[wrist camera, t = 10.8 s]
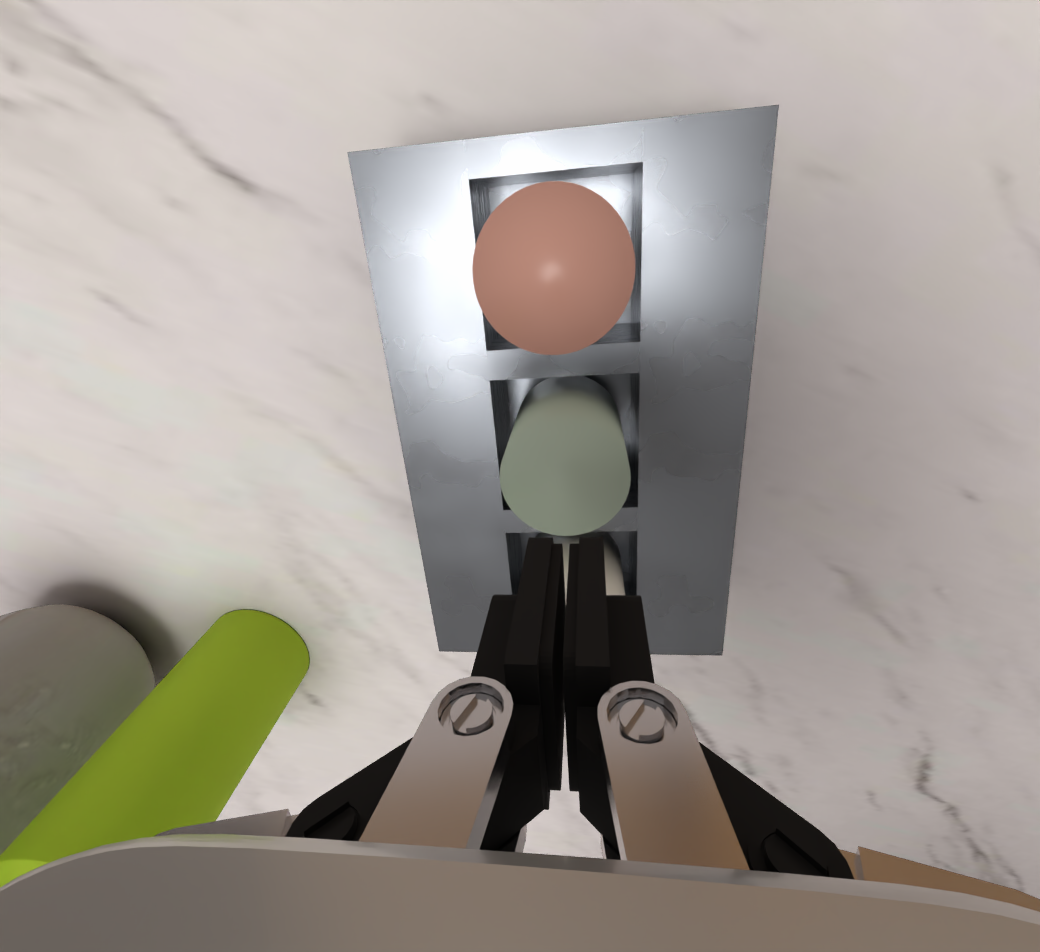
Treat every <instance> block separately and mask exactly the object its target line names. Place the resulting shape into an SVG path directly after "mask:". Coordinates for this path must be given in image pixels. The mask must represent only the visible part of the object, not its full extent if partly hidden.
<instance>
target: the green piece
mask: <svg viewBox="0 0 1040 952" xmlns="http://www.w3.org/2000/svg"><path fill="white" fill-rule="evenodd" d="M630 481H631V474H630V466H629V461H628V456H627V451H626V446H625V441H624V436H623V431H622V426H621V421H620V416H619V412H618V408H617V405H616V403H615V401H614V399H613V398H612V396H611V395H610V394H609V392H608V391H607V390H606V389H605V388H604V387H602V386H601V385H600V384H599V383H597V382H595V381H593V380H591V379H589V378H587V377H583V376H567V377H551V378H548V379H546V380H544V381H542V382H540V383H539V384H537V385H536V386H535V387H534V388H533V389H531V390H530V391H529V393H528V394H527V395H526V396H525V398H524V400H523V402H522V404H521V406H520V408H519V411H518V414H517V417H516V420H515V423H514V426H513V429H512V432H511V435H510V438H509V441H508V444H507V447H506V450H505V453H504V456H503V459H502V462H501V466H500V485H501V490H502V493H503V496H504V498H505V500H506V502H507V504H508V506H509V507H510V509H511V510H512V511H513V512H514V514H515V515H516V516H517V517H518V518H520V519H521V520H522V521H523V522H524V523H526V524H527V525H529V526H531V527H532V528H534V529H536V530H539V531H541V532H544V533H548V534H552V535H558V536H573V535H580V534H584V533H588V532H591V531H593V530H595V529H598V528H600V527H601V526H603V525H605V524H606V523H607V522H609V521H610V520H611V519H612V518H613V517H614V516H615V515H616V514H617V513H618V512H619V510H620V509H621V508H622V506H623V504H624V503H625V501H626V498H627V496H628V493H629V489H630Z"/></svg>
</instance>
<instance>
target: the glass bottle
mask: <svg viewBox="0 0 1040 952" xmlns="http://www.w3.org/2000/svg"><path fill="white" fill-rule="evenodd" d="M154 688H155V681H154V674H153V671H152V667H151V665H150V662H149V660H148V658H147V656H146V654H145V652H144V650H143V648H142V647H141V645H140V644H139V643H138V641H137V640H136V639H135V638H134V637H133V636H132V635H131V634H130V633H129V632H128V631H126V630H125V629H124V628H123V627H121V626H120V625H119V624H117V623H116V622H115V621H113V620H111V619H109V618H108V617H105V616H103V615H101V614H99V613H97V612H95V611H92V610H89V609H86V608H82V607H77V606H72V605H60V604H52V605H46V606H40V607H34V608H28V609H23V610H19V611H15V612H12V613H8V614H5V615H2V616H0V855H1V854H2V853H3V852H4V851H5V850H6V849H7V848H8V846H9V845H10V844H11V843H12V842H13V841H14V840H15V839H16V838H17V837H18V836H19V835H20V833H21V832H22V831H23V830H24V829H25V828H26V827H27V826H28V825H29V824H30V823H31V822H32V820H33V819H34V818H35V817H36V816H37V815H38V814H39V813H40V812H41V811H42V810H43V809H44V807H45V806H46V805H47V804H48V803H49V802H50V801H51V800H52V799H53V798H54V797H55V796H56V794H57V793H58V792H59V791H60V790H61V789H62V788H63V787H64V786H65V785H66V784H67V783H68V781H69V780H70V779H71V778H72V777H73V776H74V775H75V774H76V773H77V772H78V771H79V769H80V768H81V767H82V766H83V765H84V764H85V763H86V762H87V761H88V760H89V759H90V758H91V756H92V755H93V754H94V753H95V752H96V751H97V750H98V749H99V748H100V747H101V746H102V745H103V743H104V742H105V741H106V740H107V739H108V738H109V737H110V736H111V735H112V734H113V733H114V732H115V730H116V729H117V728H118V727H119V726H120V725H121V724H122V723H123V722H124V721H125V720H126V719H127V717H128V716H129V715H130V714H131V713H132V712H133V711H134V710H135V709H136V708H137V707H138V706H139V704H140V703H141V702H142V701H143V700H144V699H145V698H146V697H147V696H148V695H149V694H150V693H151V691H152V690H153V689H154Z"/></svg>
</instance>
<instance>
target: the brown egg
mask: <svg viewBox="0 0 1040 952" xmlns="http://www.w3.org/2000/svg"><path fill="white" fill-rule="evenodd" d="M472 273H473V284H474V290H475V293H476V297H477V300H478V303H479V305H480V307H481V310H482V312H483V313H484V315H485V317H486V318H487V320H488V321H489V323H490V324H491V325H492V327H493V328H494V329H495V330H496V331H497V332H498V333H499V334H500V335H501V336H502V337H504V338H505V339H506V340H507V341H509V342H510V343H512V344H514V345H515V346H517V347H519V348H521V349H524V350H526V351H529V352H533V353H536V354H543V355H561V354H568V353H572V352H576V351H578V350H581V349H583V348H586V347H588V346H590V345H591V344H593V343H595V342H596V341H598V340H599V339H600V338H602V337H603V336H604V335H605V334H606V333H607V332H608V331H609V330H611V329H612V327H613V326H614V325H615V324H616V322H617V321H618V320H619V318H620V317H621V315H622V314H623V312H624V310H625V308H626V306H627V304H628V302H629V299H630V296H631V293H632V290H633V285H634V279H635V254H634V248H633V243H632V240H631V237H630V234H629V232H628V230H627V227H626V225H625V223H624V221H623V220H622V218H621V217H620V215H619V214H618V212H617V211H616V210H615V209H614V208H613V207H612V205H611V204H610V203H609V202H607V201H606V200H605V199H604V198H603V197H602V196H600V195H599V194H597V193H595V192H594V191H592V190H590V189H588V188H586V187H584V186H581V185H578V184H574V183H571V182H563V181H547V182H541V183H536V184H533V185H530V186H527V187H525V188H523V189H520V190H518V191H516V192H515V193H513V194H512V195H510V196H509V197H507V198H506V199H505V200H504V201H503V202H502V203H501V204H499V205H498V206H497V207H496V209H495V210H494V211H493V212H492V213H491V215H490V216H489V218H488V219H487V221H486V222H485V224H484V225H483V228H482V230H481V232H480V234H479V236H478V239H477V242H476V246H475V250H474V255H473V265H472Z"/></svg>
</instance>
